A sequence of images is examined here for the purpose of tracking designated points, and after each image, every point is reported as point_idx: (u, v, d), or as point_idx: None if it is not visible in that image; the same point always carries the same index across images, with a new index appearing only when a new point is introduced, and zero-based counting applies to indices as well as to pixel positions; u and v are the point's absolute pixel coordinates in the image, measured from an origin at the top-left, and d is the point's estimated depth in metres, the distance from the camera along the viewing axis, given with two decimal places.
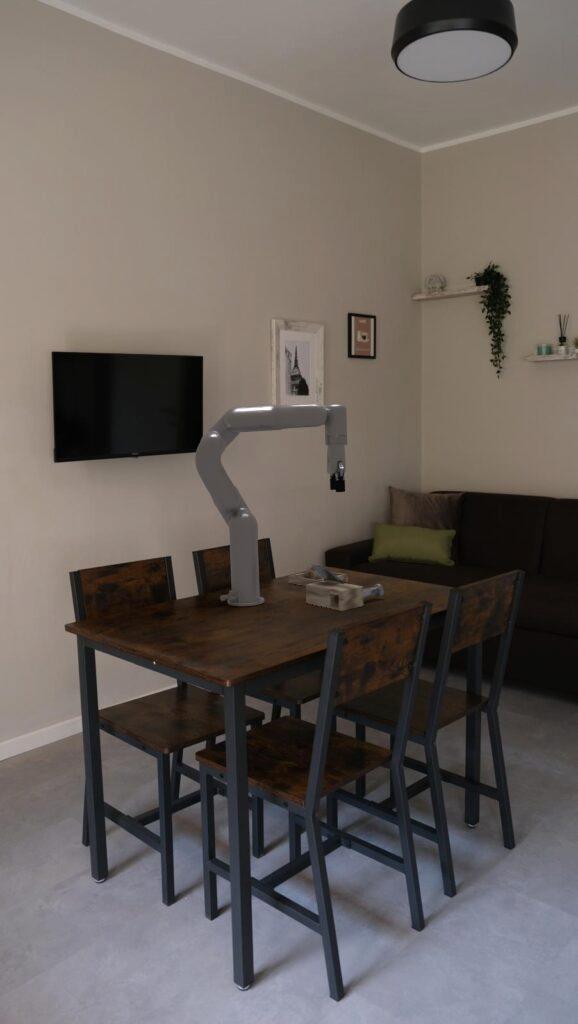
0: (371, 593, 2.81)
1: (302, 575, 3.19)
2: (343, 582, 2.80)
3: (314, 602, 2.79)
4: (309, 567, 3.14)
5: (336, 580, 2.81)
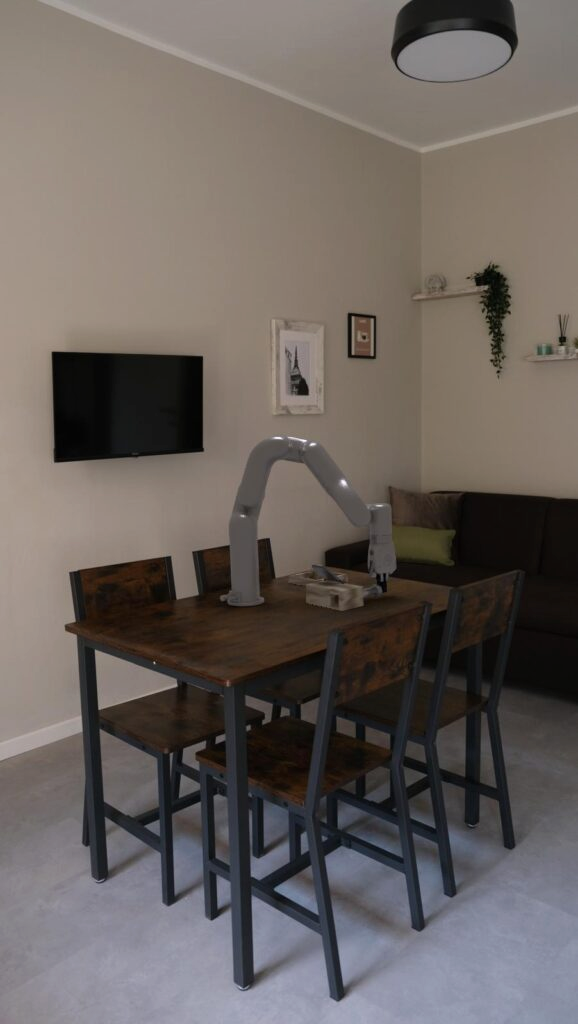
0: (369, 593, 2.80)
1: (302, 575, 3.19)
2: (343, 582, 2.80)
3: (314, 602, 2.79)
4: None
5: (336, 580, 2.81)
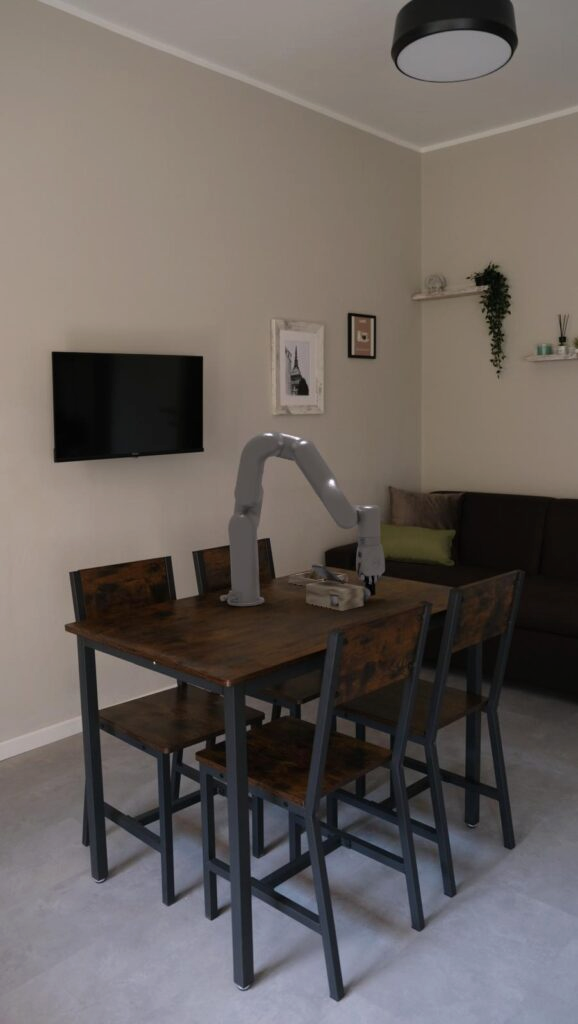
0: None
1: (302, 575, 3.19)
2: (343, 582, 2.80)
3: (314, 602, 2.79)
4: None
5: (336, 580, 2.81)
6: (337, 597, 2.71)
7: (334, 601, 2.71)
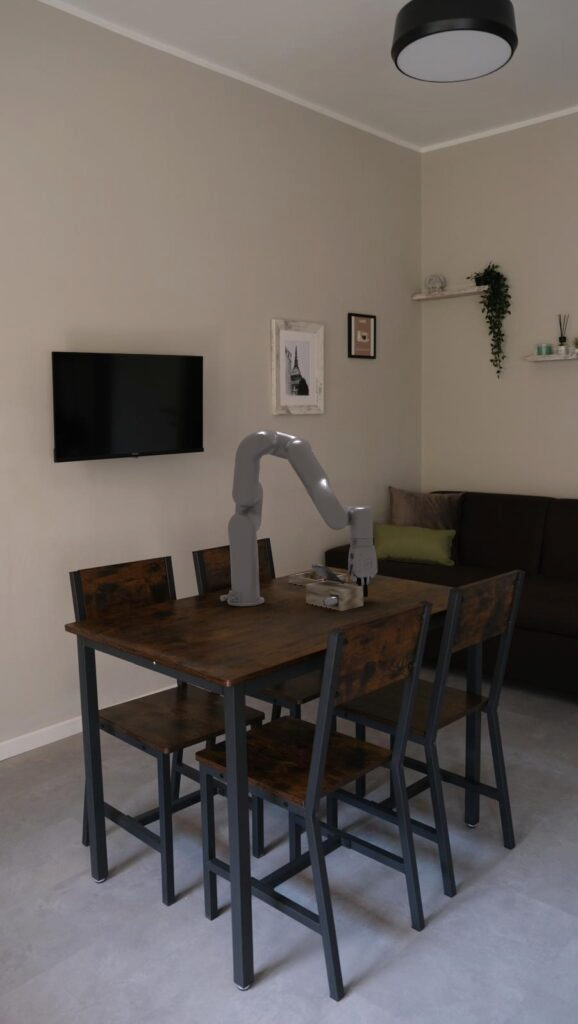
0: None
1: (302, 575, 3.19)
2: (343, 582, 2.80)
3: (314, 602, 2.79)
4: None
5: (336, 580, 2.81)
6: (329, 599, 2.68)
7: (326, 603, 2.68)
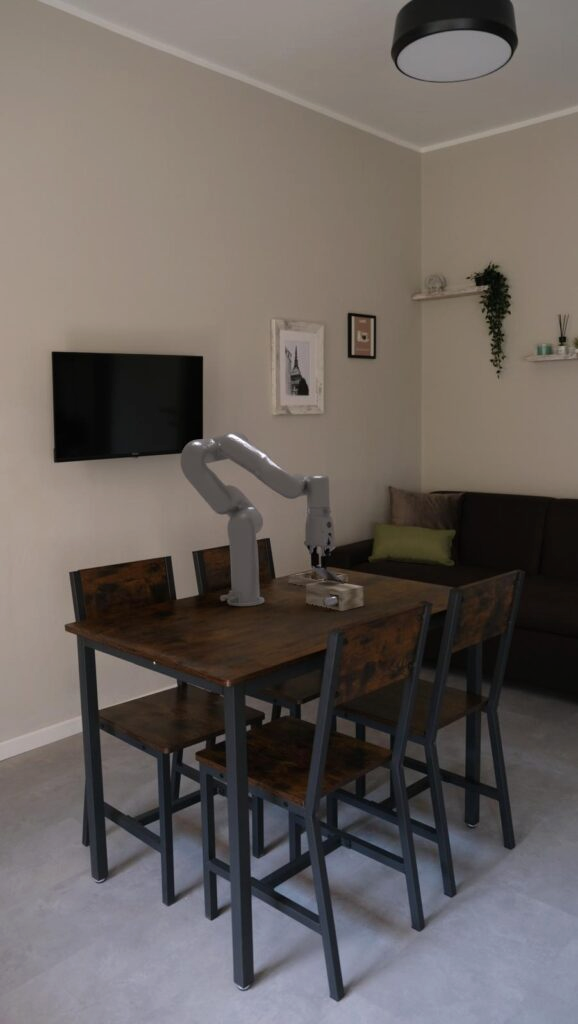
0: None
1: (302, 575, 3.19)
2: (343, 582, 2.80)
3: (314, 602, 2.79)
4: None
5: (336, 580, 2.81)
6: (329, 599, 2.68)
7: (326, 603, 2.68)
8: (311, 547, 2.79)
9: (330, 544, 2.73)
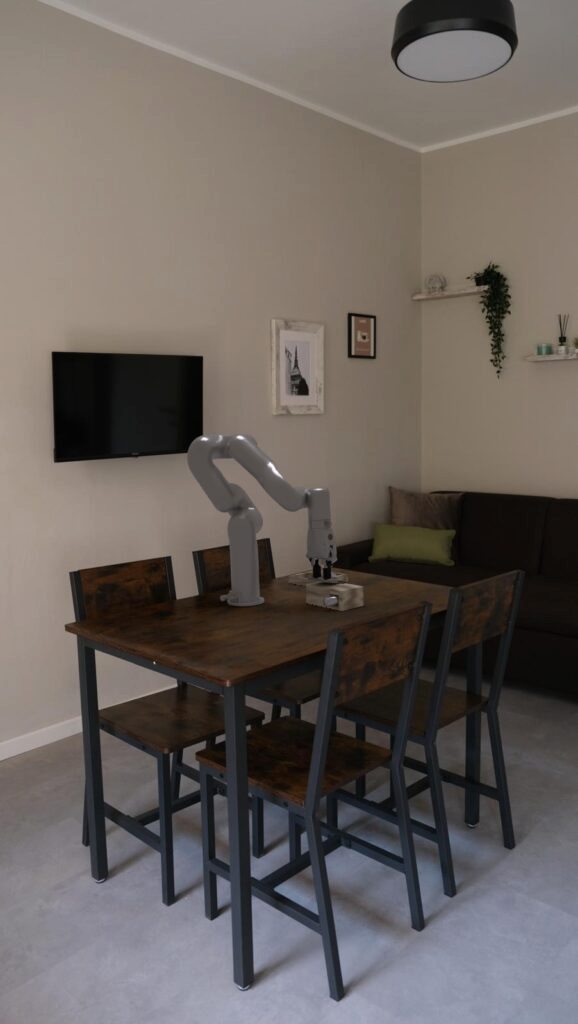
0: None
1: (302, 575, 3.19)
2: (343, 582, 2.80)
3: (314, 602, 2.79)
4: None
5: (336, 582, 2.81)
6: (329, 599, 2.68)
7: (326, 603, 2.68)
8: (313, 559, 2.79)
9: (332, 556, 2.73)
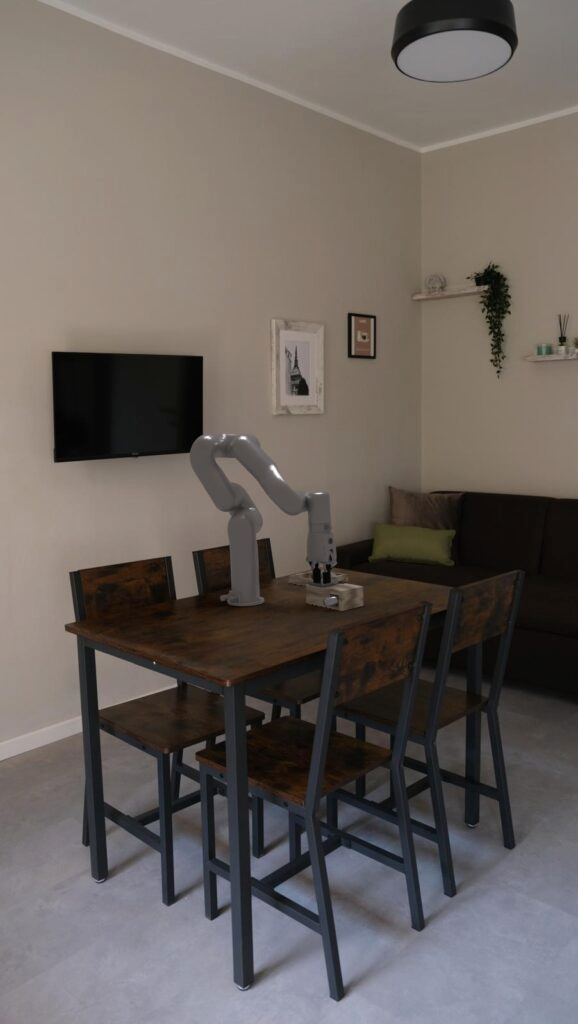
0: None
1: (302, 575, 3.19)
2: (343, 582, 2.80)
3: (314, 602, 2.79)
4: None
5: None
6: (329, 599, 2.68)
7: (326, 603, 2.68)
8: (313, 563, 2.79)
9: (332, 560, 2.73)
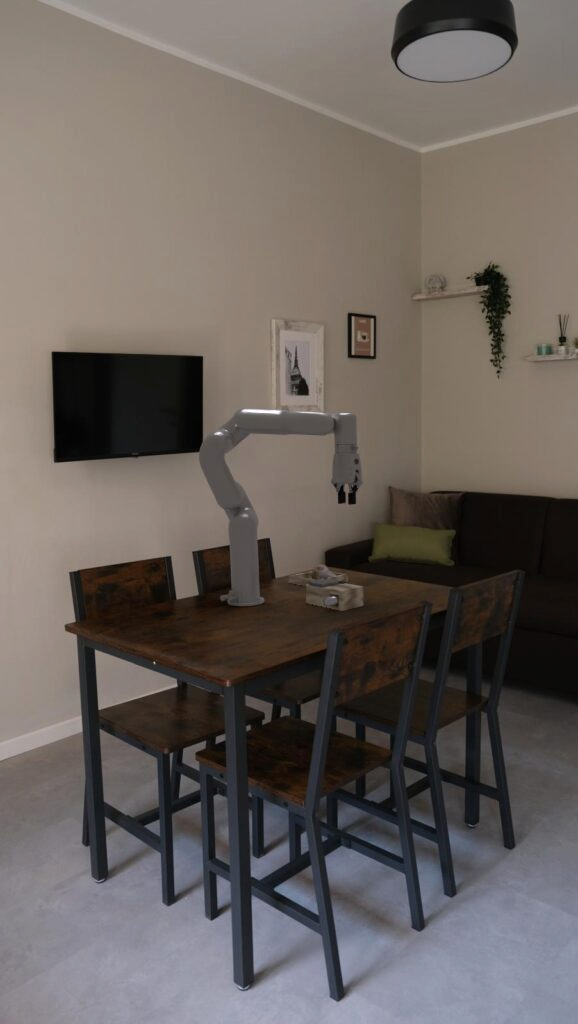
0: None
1: (302, 575, 3.19)
2: (343, 582, 2.80)
3: (314, 602, 2.79)
4: (316, 566, 3.16)
5: None
6: (329, 599, 2.68)
7: (326, 603, 2.68)
8: (338, 485, 2.81)
9: (357, 480, 2.75)
